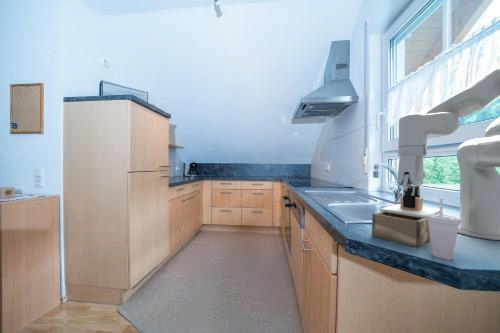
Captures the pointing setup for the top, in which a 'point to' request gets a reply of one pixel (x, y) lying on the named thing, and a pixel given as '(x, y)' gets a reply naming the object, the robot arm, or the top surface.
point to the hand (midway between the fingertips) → (411, 206)
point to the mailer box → (400, 228)
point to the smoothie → (443, 233)
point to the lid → (411, 209)
